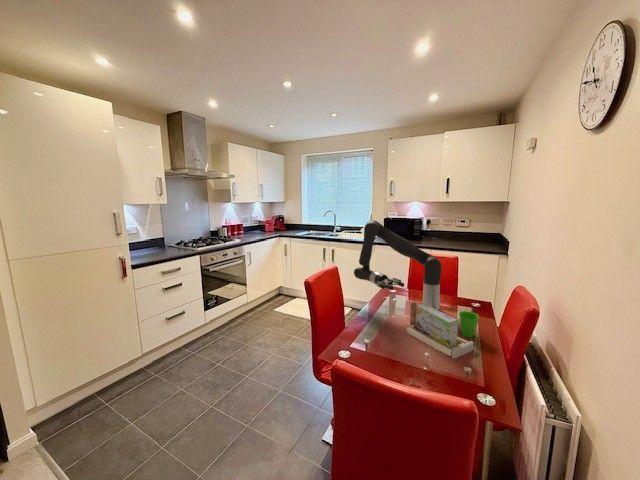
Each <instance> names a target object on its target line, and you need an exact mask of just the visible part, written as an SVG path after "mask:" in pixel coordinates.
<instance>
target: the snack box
mask: <svg viewBox="0 0 640 480" xmlns="http://www.w3.org/2000/svg"><path fill="white" fill-rule="evenodd" d="M458 325H459V320H458V319H457V318H454V317H452V316H450V315H448V314H446V313H444V312H442V311H440V310H436V309H434V308H432V307H430V306H428V305H426V304H424V303H423V302H422V303H420V304H417V305H416V330H418V331H420V332H422V333H424V334H426V335H427V336H429V337H431V338H433V339H435V340H437V341H439V342H441V343H443V344H444V345H446V346H448V347H450V348H453V347H455V346H457V337H458V328H459V327H458Z"/></svg>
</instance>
